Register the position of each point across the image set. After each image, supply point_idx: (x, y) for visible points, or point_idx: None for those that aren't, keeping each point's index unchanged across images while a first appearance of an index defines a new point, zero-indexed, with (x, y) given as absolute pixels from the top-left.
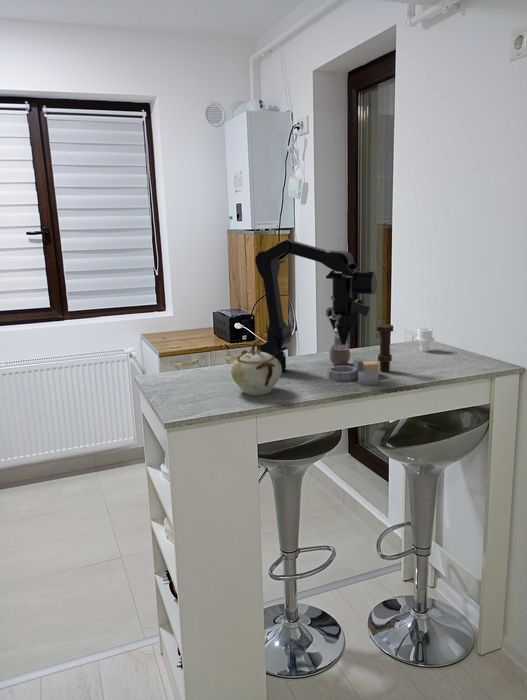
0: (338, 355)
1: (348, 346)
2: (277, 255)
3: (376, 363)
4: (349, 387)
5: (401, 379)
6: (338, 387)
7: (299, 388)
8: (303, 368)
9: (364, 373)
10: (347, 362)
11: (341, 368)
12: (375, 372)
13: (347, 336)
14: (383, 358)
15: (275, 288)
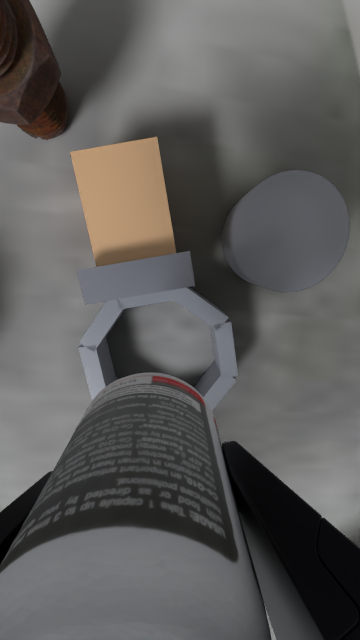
0: None
1: (189, 394)
2: None
3: (138, 151)
4: (335, 328)
5: (228, 35)
6: (327, 372)
7: (316, 507)
8: (11, 500)
9: (324, 258)
10: None
11: (102, 358)
12: (313, 188)
13: (302, 502)
14: (47, 71)
15: None
